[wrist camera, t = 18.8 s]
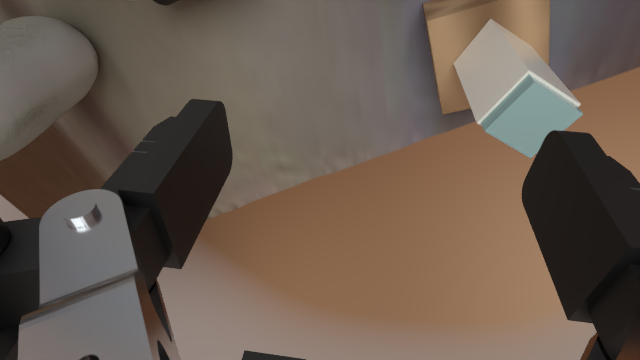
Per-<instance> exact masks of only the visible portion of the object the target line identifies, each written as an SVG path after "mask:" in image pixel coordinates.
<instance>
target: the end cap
mask: <svg viewBox="0 0 640 360" xmlns="http://www.w3.org/2000/svg"><path fill="white" fill-rule="evenodd" d="M153 1H155V2H156V3H158V4H161V5H170V4H172V3H174V2H176V1H179V0H153Z"/></svg>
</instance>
